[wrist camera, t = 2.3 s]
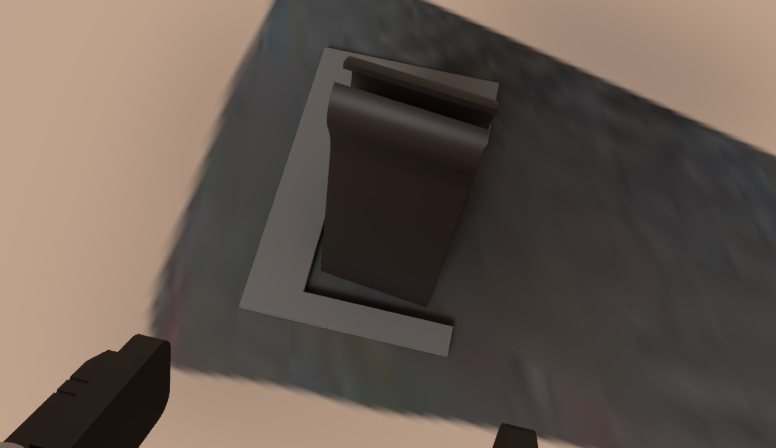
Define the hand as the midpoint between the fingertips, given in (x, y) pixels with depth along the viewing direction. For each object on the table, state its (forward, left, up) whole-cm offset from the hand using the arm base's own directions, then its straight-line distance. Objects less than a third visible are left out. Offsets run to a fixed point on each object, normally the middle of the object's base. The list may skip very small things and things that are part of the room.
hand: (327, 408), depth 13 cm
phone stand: (0, -11, -16) cm, 19 cm away
